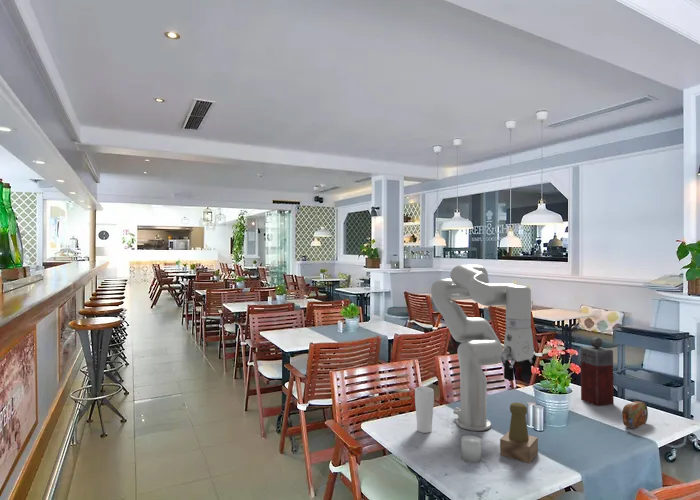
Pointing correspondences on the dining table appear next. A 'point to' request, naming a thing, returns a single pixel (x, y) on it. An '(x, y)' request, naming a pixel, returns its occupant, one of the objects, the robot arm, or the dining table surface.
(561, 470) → the dining table surface
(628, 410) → the tin
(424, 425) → the drinking glass
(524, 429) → the cork
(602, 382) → the dark red canister
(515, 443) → the block
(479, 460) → the grey rounded block
